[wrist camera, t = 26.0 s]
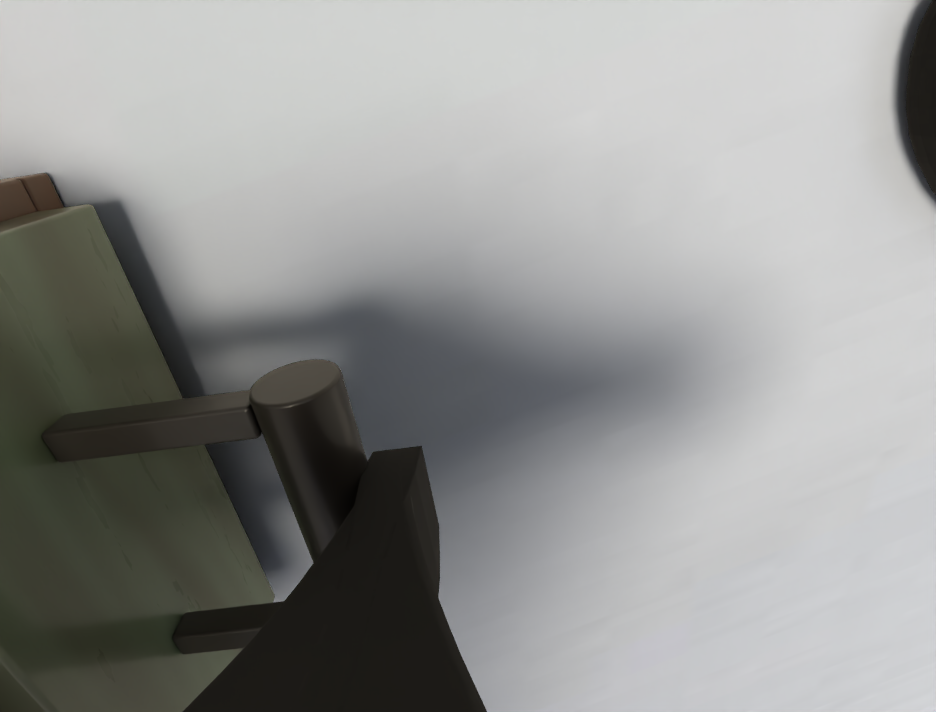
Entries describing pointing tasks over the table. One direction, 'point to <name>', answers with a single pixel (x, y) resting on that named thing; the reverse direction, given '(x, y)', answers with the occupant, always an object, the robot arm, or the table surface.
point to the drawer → (134, 486)
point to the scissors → (923, 96)
